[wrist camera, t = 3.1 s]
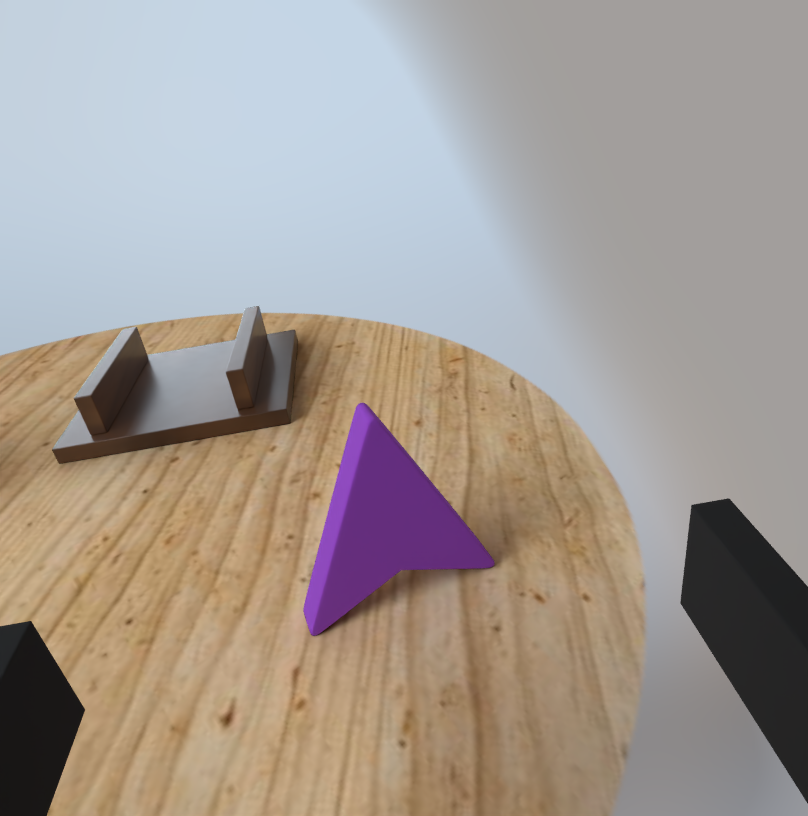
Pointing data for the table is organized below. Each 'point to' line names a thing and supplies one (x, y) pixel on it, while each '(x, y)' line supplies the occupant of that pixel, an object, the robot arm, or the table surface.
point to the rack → (182, 392)
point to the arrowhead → (382, 525)
